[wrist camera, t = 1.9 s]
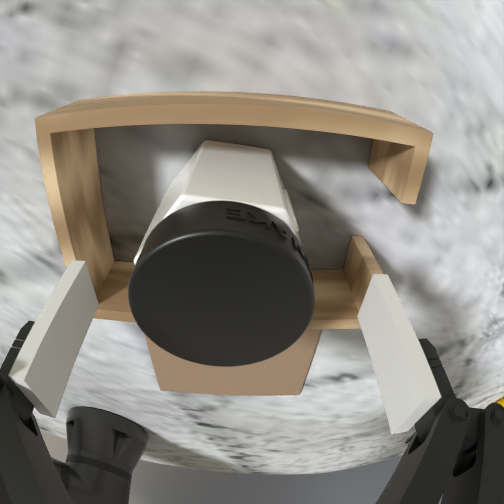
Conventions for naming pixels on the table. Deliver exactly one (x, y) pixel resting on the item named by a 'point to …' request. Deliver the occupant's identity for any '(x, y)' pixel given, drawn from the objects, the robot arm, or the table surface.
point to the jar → (223, 262)
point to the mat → (238, 372)
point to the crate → (215, 112)
